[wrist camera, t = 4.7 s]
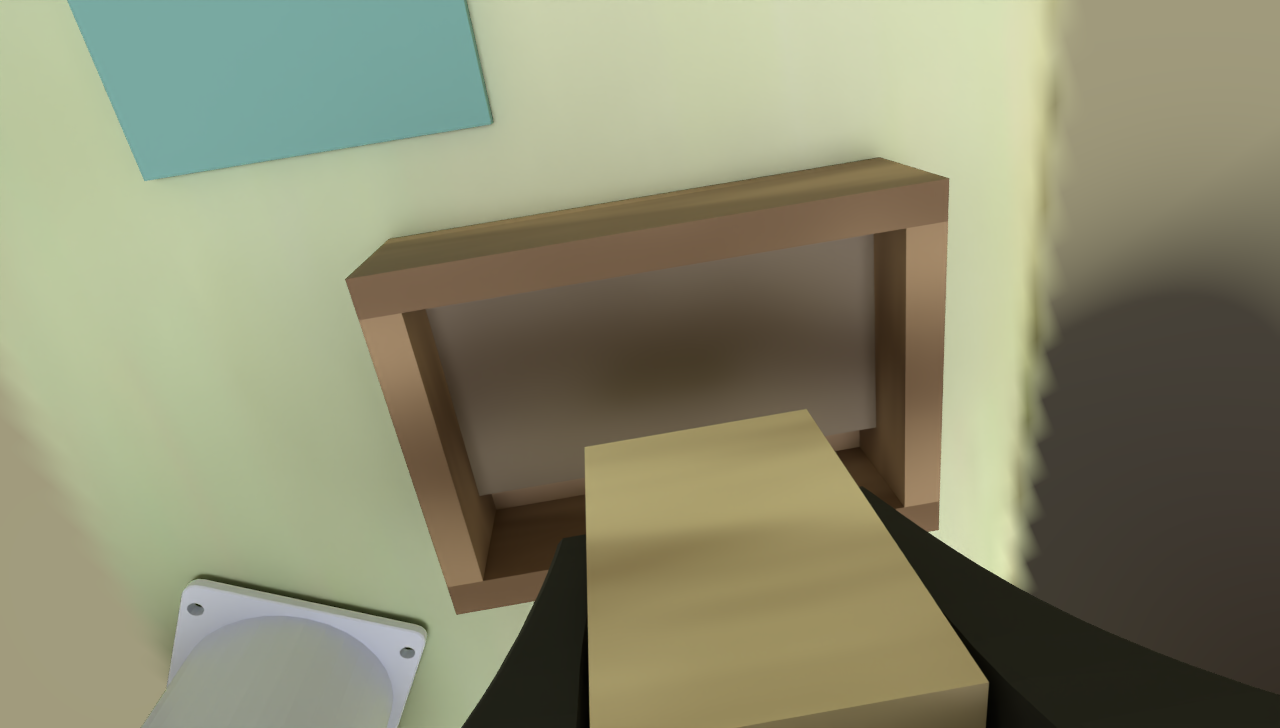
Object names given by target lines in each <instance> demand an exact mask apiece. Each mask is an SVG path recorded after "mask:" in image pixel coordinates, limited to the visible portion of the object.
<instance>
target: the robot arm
mask: <svg viewBox="0 0 1280 728" xmlns="http://www.w3.org/2000/svg"><path fill="white" fill-rule="evenodd" d="M859 488H860V490H861V491H862V493H863V494H864V496H865V497H866V499H867V500H868V502H869V503H870V505H871V506H872V508H873V509H874V511H875V512H876V514H877V515H878V517H879V518H880V520H881V521H882V523H883V524H884V526H885V527H886V529H887V530H888V532H889V533H890V535H891V536H892V538H893V539H894V541H895V542H896V544H897V545H898V547H899V548H900V550H901V551H902V553H903V554H904V556H905V557H906V559H907V560H908V562H909V563H910V565H911V566H912V568H913V569H914V571H915V572H916V574H917V575H918V577H919V578H920V580H921V581H922V583H923V584H924V586H925V587H926V589H927V590H928V592H929V593H930V595H931V596H932V598H933V599H934V601H935V602H936V604H937V605H938V607H939V608H940V610H941V611H942V613H943V614H944V616H945V617H946V619H947V620H948V622H949V623H950V625H951V626H952V628H953V629H954V631H955V632H956V634H957V635H958V637H959V638H960V640H961V641H962V643H963V644H964V646H965V647H966V649H967V650H968V652H969V653H970V655H971V656H972V658H973V659H974V661H975V662H976V664H977V665H978V667H979V668H980V670H981V671H982V673H983V674H984V676H985V677H986V679H987V680H988V682H989V689H988V702H987V715H986V728H1280V695H1278V694H1275V693H1272V692H1268V691H1265V690H1261V689H1259V688H1255V687H1252V686H1249V685H1246V684H1243V683H1241V682H1237V681H1235V680H1232V679H1229V678H1226V677H1223V676H1220V675H1217V674H1215V673H1212V672H1209V671H1206V670H1203V669H1200V668H1197V667H1194V666H1191V665H1189V664H1186V663H1184V662H1180V661H1178V660H1176V659H1173V658H1170V657H1168V656H1165V655H1163V654H1160V653H1157V652H1155V651H1152V650H1150V649H1148V648H1145V647H1143V646H1140V645H1138V644H1136V643H1133V642H1130V641H1128V640H1126V639H1124V638H1121V637H1119V636H1116V635H1114V634H1111V633H1109V632H1107V631H1105V630H1102V629H1100V628H1098V627H1096V626H1094V625H1091V624H1089V623H1087V622H1085V621H1082V620H1080V619H1078V618H1076V617H1074V616H1072V615H1070V614H1068V613H1066V612H1064V611H1062V610H1060V609H1058V608H1056V607H1054V606H1052V605H1050V604H1048V603H1046V602H1044V601H1042V600H1040V599H1038V598H1036V597H1034V596H1032V595H1030V594H1029V593H1027V592H1025V591H1023V590H1021V589H1019V588H1017V587H1016V586H1014V585H1012V584H1010V583H1009V582H1007V581H1005V580H1004V579H1002V578H1000V577H998V576H997V575H995V574H993V573H992V572H990V571H988V570H986V569H985V568H983V567H981V566H980V565H978V564H976V563H975V562H973V561H971V560H970V559H968V558H967V557H965V556H963V555H962V554H960V553H959V552H957V551H956V550H954V549H952V548H951V547H949V546H948V545H946V544H945V543H943V542H942V541H940V540H939V539H937V538H936V537H934V536H933V535H931V534H930V533H928V532H927V531H925V530H924V529H923V528H921V527H920V526H918V525H917V524H915V523H914V522H912V521H911V520H910V519H908V518H907V517H905V516H904V515H902V514H901V513H900V512H898V511H897V510H895V509H894V508H893V507H891V506H890V505H888V504H887V503H886V502H884V501H883V500H881V499H880V498H879V497H877V496H876V495H874V494H873V493H872V492H870V491H869V490H867V489H866V488H864V487H863V486H860V487H859ZM194 603H197V604H199V605H201V606H202V607H199V606H196V605H195V604H194ZM426 640H427V632H426V630H425V629H424V628H423V627H421V626H419V625H416V624H412V623H407V622H402V621H398V620H393V619H388V618H383V617H379V616H374V615H369V614H365V613H360V612H355V611H351V610H346V609H341V608H337V607H332V606H327V605H323V604H318V603H313V602H308V601H304V600H299V599H294V598H290V597H285V596H280V595H276V594H271V593H266V592H262V591H257V590H252V589H248V588H243V587H238V586H233V585H229V584H224V583H219V582H215V581H210V580H205V579H196V580H192V581H191V582H190V583H188V585H187V586H186V587H185V589H184V590H183V593H182V596H181V603H180V609H179V615H178V621H177V627H176V633H175V639H174V645H173V651H172V657H171V664H170V670H169V676H168V682H167V688H166V690H165V692H164V693H163V695H162V696H161V698H160V699H159V701H158V702H157V704H156V706H155V707H154V708H153V710H152V711H151V713H150V714H149V716H148V718H147V719H146V721H145V722H144V724H143V725H142V727H141V728H398V725H399V722H400V719H401V716H402V713H403V710H404V707H405V704H406V701H407V698H408V695H409V692H410V689H411V686H412V683H413V680H414V677H415V674H416V671H417V668H418V665H419V662H420V659H421V656H422V653H423V650H424V647H425V643H426ZM405 647H410V648H412V649H413V650H407V649H405ZM461 728H590V708H589V655H588V603H587V550H586V534H584V535H578V536H572V537H567V538H563V539H562V540H561V541H560V542H559V544H558V545H557V548H556V551H555V554H554V557H553V560H552V562H551V565H550V568H549V570H548V573H547V575H546V578H545V580H544V582H543V584H542V587H541V589H540V591H539V594H538V596H537V598H536V600H535V602H534V604H533V606H532V608H531V610H530V613H529V615H528V617H527V619H526V621H525V623H524V625H523V627H522V629H521V631H520V633H519V635H518V637H517V638H516V640H515V642H514V644H513V646H512V647H511V649H510V651H509V653H508V655H507V656H506V658H505V660H504V662H503V663H502V665H501V667H500V669H499V671H498V672H497V674H496V676H495V677H494V679H493V681H492V682H491V684H490V685H489V687H488V689H487V690H486V692H485V693H484V695H483V696H482V698H481V700H480V701H479V703H478V704H477V706H476V707H475V709H474V710H473V711H472V713H471V714H470V716H469V717H468V719H467V720H466V722H465V723H464V725H463V726H462V727H461Z"/></svg>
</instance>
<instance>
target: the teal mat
mask: <svg viewBox="0 0 1280 728" xmlns="http://www.w3.org/2000/svg"><path fill="white" fill-rule="evenodd" d="M67 1H68V3H69V6H70V8H71V10H72V13H73V15H74V17H75V20H76V22H77V24H78V27H79V29H80V31H81V34H82V36H83V38H84V41H85V43H86V45H87V48H88V50H89V52H90V55H91V57H92V59H93V62H94V64H95V66H96V69H97V71H98V73H99V76H100V78H101V80H102V83H103V85H104V87H105V90H106V92H107V94H108V97H109V99H110V101H111V104H112V106H113V108H114V111H115V113H116V115H117V118H118V120H119V123H120V125H121V127H122V130H123V132H124V134H125V137H126V139H127V141H128V144H129V146H130V148H131V151H132V153H133V155H134V158H135V160H136V162H137V165H138V167H139V169H140V172H141V174H142V176H143V179H144V181H147V180H153V179H159V178H165V177H172V176H178V175H184V174H190V173H196V172H202V171H208V170H214V169H220V168H227V167H233V166H239V165H245V164H251V163H257V162H263V161H269V160H275V159H281V158H288V157H294V156H300V155H306V154H312V153H318V152H324V151H330V150H336V149H343V148H349V147H355V146H361V145H367V144H373V143H379V142H385V141H391V140H398V139H404V138H410V137H416V136H422V135H428V134H434V133H440V132H446V131H453V130H459V129H465V128H471V127H477V126H483V125H489V124H492V123H493V118H492V114H491V109H490V105H489V100H488V96H487V91H486V87H485V82H484V78H483V73H482V69H481V64H480V59H479V55H478V50H477V46H476V41H475V37H474V32H473V28H472V23H471V19H470V14H469V10H468V5H467V1H466V0H67Z"/></svg>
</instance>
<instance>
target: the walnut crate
mask: <svg viewBox="0 0 1280 728" xmlns="http://www.w3.org/2000/svg"><path fill="white" fill-rule="evenodd" d="M948 201H949V178H946V177H943V176H939V175H936V174H933V173H930V172H926V171H923V170H920V169H916V168H913V167H910V166H906V165H903V164H900V163H896V162H893V161H890V160H887V159H883V158H874V159H868V160H862V161H856V162H850V163H844V164H838V165H832V166H826V167H820V168H814V169H808V170H802V171H796V172H790V173H784V174H778V175H772V176H766V177H760V178H754V179H748V180H742V181H735V182H729V183H723V184H717V185H711V186H705V187H699V188H693V189H687V190H681V191H675V192H669V193H663V194H657V195H651V196H645V197H639V198H633V199H627V200H621V201H615V202H609V203H603V204H597V205H591V206H585V207H579V208H573V209H567V210H561V211H555V212H549V213H543V214H537V215H531V216H525V217H519V218H513V219H507V220H501V221H495V222H489V223H483V224H477V225H471V226H465V227H459V228H453V229H447V230H441V231H435V232H429V233H423V234H417V235H411V236H405V237H398V238H392V239H388V240H387V241H386V242H385V243H384V244H383V245H382V246H381V247H380V248H379V249H378V250H377V251H375V252H374V253H373V254H372V255H371V256H370V257H369V258H368V259H367V260H366V261H365V262H364V263H362V264H361V265H360V266H359V267H358V268H357V269H356V270H355V271H354V272H353V273H352V274H350V275H349V276H348V277H347V278H346V279H345V280H346V283H347V286H348V289H349V292H350V295H351V298H352V301H353V304H354V307H355V310H356V313H357V316H358V319H359V322H360V325H361V328H362V331H363V334H364V337H365V340H366V343H367V346H368V349H369V352H370V355H371V358H372V361H373V364H374V367H375V370H376V373H377V376H378V379H379V382H380V385H381V388H382V391H383V394H384V397H385V400H386V403H387V406H388V409H389V413H390V416H391V419H392V422H393V425H394V428H395V431H396V434H397V437H398V440H399V443H400V446H401V449H402V452H403V455H404V458H405V461H406V464H407V467H408V470H409V473H410V476H411V479H412V482H413V485H414V488H415V491H416V494H417V497H418V500H419V503H420V506H421V509H422V512H423V515H424V518H425V521H426V524H427V527H428V530H429V533H430V536H431V539H432V542H433V545H434V548H435V551H436V554H437V557H438V560H439V563H440V566H441V569H442V572H443V575H444V578H445V581H446V584H447V587H448V590H449V593H450V596H451V599H452V602H453V605H454V608H455V611H456V614H457V615H458V614H463V613H469V612H475V611H480V610H486V609H492V608H497V607H503V606H509V605H514V604H520V603H526V602H532V601H535V600H536V598H537V596H538V594H539V591H540V589H541V587H542V584H543V582H544V580H545V578H546V575H547V573H548V570H549V568H550V565H551V562H552V560H553V557H554V554H555V551H556V548H557V545H558V544H559V542H560V541H561V540H562V539H563V538H567V537H572V536H578V535H584V534H586V498H585V447H588V446H594V445H600V444H606V443H611V442H617V441H623V440H629V439H635V438H641V437H646V436H652V435H658V434H664V433H670V432H675V431H681V430H687V429H693V428H699V427H705V426H710V425H716V424H722V423H728V422H734V421H740V420H745V419H751V418H757V417H763V416H769V415H774V414H780V413H786V412H792V411H798V410H804V409H807V411H808V412H809V414H810V415H811V417H812V418H813V420H814V421H815V423H816V424H817V426H818V427H819V429H820V430H821V432H822V433H823V435H824V436H825V438H826V439H827V441H828V442H829V444H830V445H831V447H832V448H833V450H834V451H835V453H836V454H837V456H838V457H839V459H840V460H841V462H842V463H843V465H844V466H845V468H846V469H847V471H848V472H849V474H850V475H851V477H852V478H853V480H854V481H855V482H856V484H857V485H858V487H860V486H863V487H864V488H866V489H867V490H869V491H870V492H872V493H873V494H874V495H876V496H877V497H879V498H880V499H881V500H883V501H884V502H886V503H887V504H888V505H890V506H891V507H893V508H894V509H895V510H897V511H898V512H900V513H901V514H902V515H904V516H905V517H907V518H908V519H910V520H911V521H912V522H914V523H915V524H917V525H918V526H920V527H921V528H923V529H924V530H925V531H927V532H930V531H935V530H939V498H940V465H941V432H942V399H943V366H944V333H945V300H946V267H947V234H948Z"/></svg>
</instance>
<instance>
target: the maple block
mask: <svg viewBox="0 0 1280 728" xmlns="http://www.w3.org/2000/svg"><path fill="white" fill-rule="evenodd" d="M585 498H586V550H587V603H588V655H589V708H590V728H986V715H987V702H988V689H989V682H988V680H987V679H986V677H985V676H984V674H983V673H982V671H981V670H980V668H979V667H978V665H977V664H976V662H975V661H974V659H973V658H972V656H971V655H970V653H969V652H968V650H967V649H966V647H965V646H964V644H963V643H962V641H961V640H960V638H959V637H958V635H957V634H956V632H955V631H954V629H953V628H952V626H951V625H950V623H949V622H948V620H947V619H946V617H945V616H944V614H943V613H942V611H941V610H940V608H939V607H938V605H937V604H936V602H935V601H934V599H933V598H932V596H931V595H930V593H929V592H928V590H927V589H926V587H925V586H924V584H923V583H922V581H921V580H920V578H919V577H918V575H917V574H916V572H915V571H914V569H913V568H912V566H911V565H910V563H909V562H908V560H907V559H906V557H905V556H904V554H903V553H902V551H901V550H900V548H899V547H898V545H897V544H896V542H895V541H894V539H893V538H892V536H891V535H890V533H889V532H888V530H887V529H886V527H885V526H884V524H883V523H882V521H881V520H880V518H879V517H878V515H877V514H876V512H875V511H874V509H873V508H872V506H871V505H870V503H869V502H868V500H867V499H866V497H865V496H864V494H863V493H862V491H861V490H860V488H859V487H858V485H857V484H856V482H855V481H854V480H853V478H852V477H851V475H850V474H849V472H848V471H847V469H846V468H845V466H844V465H843V463H842V462H841V460H840V459H839V457H838V456H837V454H836V453H835V451H834V450H833V448H832V447H831V445H830V444H829V442H828V441H827V439H826V438H825V436H824V435H823V433H822V432H821V430H820V429H819V427H818V426H817V424H816V423H815V421H814V420H813V418H812V417H811V415H810V414H809V412H808V411H807V409H804V410H798V411H792V412H786V413H780V414H774V415H769V416H763V417H757V418H751V419H745V420H740V421H734V422H728V423H722V424H716V425H710V426H705V427H699V428H693V429H687V430H681V431H675V432H670V433H664V434H658V435H652V436H646V437H641V438H635V439H629V440H623V441H617V442H611V443H606V444H600V445H594V446H588V447H585Z"/></svg>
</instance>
